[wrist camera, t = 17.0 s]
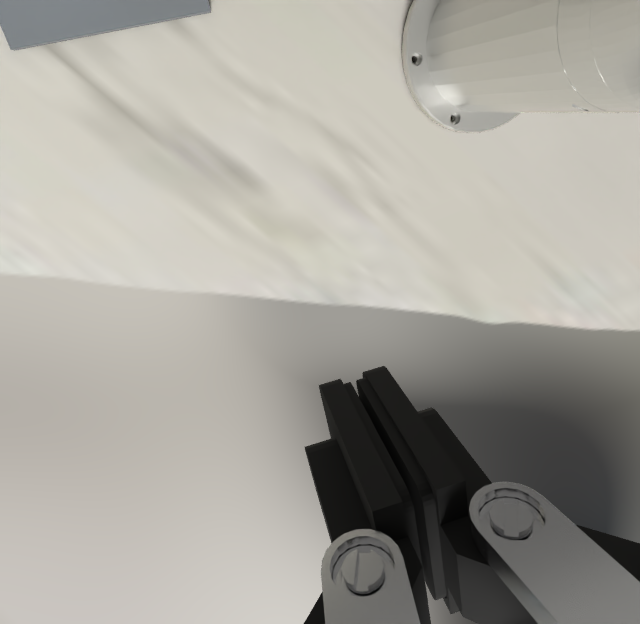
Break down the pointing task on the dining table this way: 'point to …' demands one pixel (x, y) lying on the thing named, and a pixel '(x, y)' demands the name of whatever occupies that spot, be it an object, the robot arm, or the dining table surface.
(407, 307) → the dining table surface
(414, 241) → the dining table surface
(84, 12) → the mat
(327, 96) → the dining table surface
